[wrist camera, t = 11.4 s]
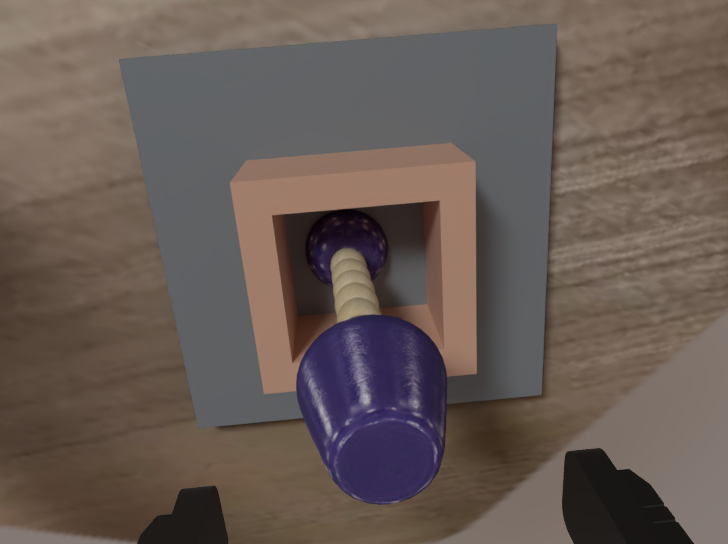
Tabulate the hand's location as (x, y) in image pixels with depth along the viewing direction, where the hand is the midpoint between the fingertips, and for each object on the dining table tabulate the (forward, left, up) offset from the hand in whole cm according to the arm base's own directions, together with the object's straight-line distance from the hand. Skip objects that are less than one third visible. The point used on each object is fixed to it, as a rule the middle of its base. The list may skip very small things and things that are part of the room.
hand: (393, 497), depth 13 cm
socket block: (0, 0, -19) cm, 19 cm away
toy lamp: (0, 0, -18) cm, 18 cm away
